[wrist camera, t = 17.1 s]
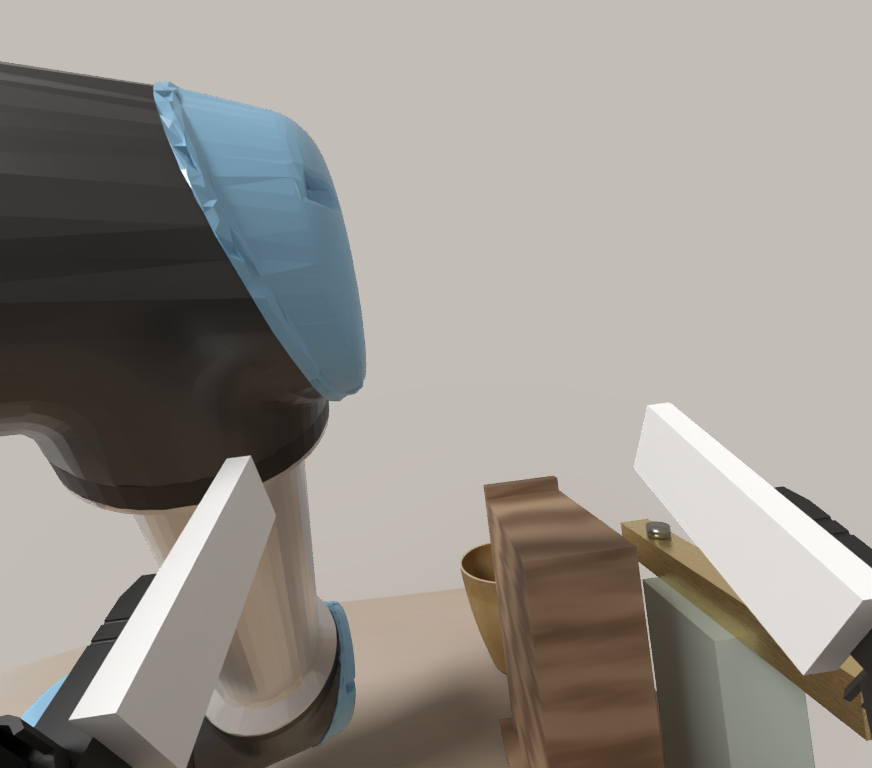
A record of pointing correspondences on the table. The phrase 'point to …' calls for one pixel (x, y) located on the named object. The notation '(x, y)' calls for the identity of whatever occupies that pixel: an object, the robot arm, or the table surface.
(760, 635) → the brass bar
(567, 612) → the walnut stand
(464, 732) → the table surface
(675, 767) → the grey block
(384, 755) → the table surface
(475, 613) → the plant pot
